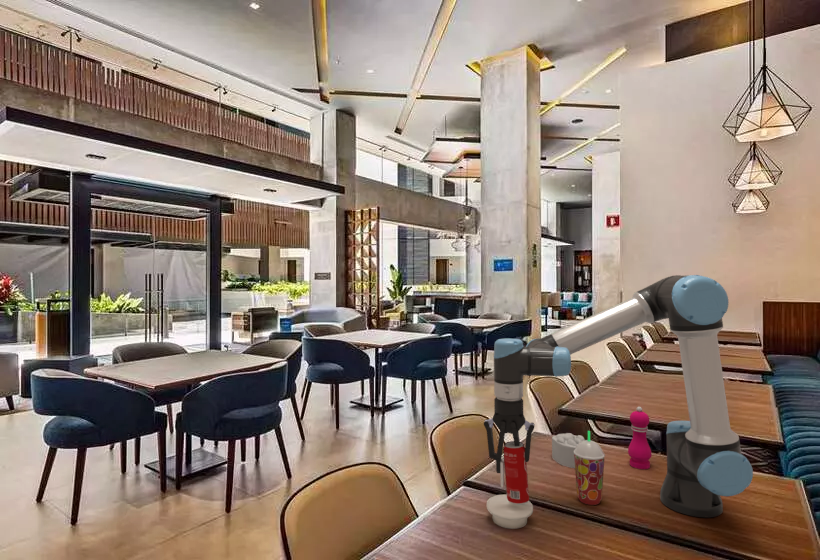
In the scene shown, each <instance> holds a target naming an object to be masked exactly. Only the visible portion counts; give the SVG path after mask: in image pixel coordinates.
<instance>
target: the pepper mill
mask: <svg viewBox="0 0 820 560" xmlns="http://www.w3.org/2000/svg"><path fill="white" fill-rule="evenodd" d="M629 421H630V423H631V430H632V437H631V438H632V439H631V441H630V442H629V445H628V447H627V454H628V456H629V457H630V458H629V465H630V467H632V468H634V469H637V470H638V469H639V470H648V469H650V468H651V461H650V460H651V458H652V449H651V447H650V445H649V443H648V438H647V432H648V431H649V429H648V428H649V427H648V425H649V423H650V417H649V415H648V414H647V413H646V412H644V411H643V408H642V407H641V406H637V407H636V410H635V411H633V412H631V413H630V414H629Z"/></svg>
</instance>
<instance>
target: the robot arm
mask: <svg viewBox="0 0 820 560" xmlns="http://www.w3.org/2000/svg"><path fill="white" fill-rule="evenodd" d="M729 304H730V303H729V296H728V294H727V291H726V289H725V288H724V287H723V285H722V284H720V283H719V282H718V281H716V280H715V279H713V278H711V277H708V276H704V275H699V274H690V275H689V274H687V275H681V274H680V275H679V274H678V275H677V274H676V275H670V276H668V277H664V278H661V279H660V280H658V281H656V282H654V283H652V284H650V285H647V286H646V287H644V288H642V289H640V290H637V291H635V292H634V293H633V295H632V297H631V298H628V299H626V300H624V301H622V302H620V303H618V304H615V305H614V306H611V307H608V308H606V309H604V310H602V311H600V312H598V313H595V314H592V315H590V316H588V317H586V318H583V319H581V320H580V321H577V322H575V323H572V324H570V325H567V326H566V327H564V328H561V329H559V330H557V331H555V332H553V333H551V334H548V335H546V336H543V337H541V338H538V337H537V338H534V339H530V341H528V342H527V344H526V345H525V346H524V343H523V340H522V339H519V338H499V339H496V341H494V346H493V347H494V349H493V375H494V376H493V377H494V381H493V384H494V385H493V387H494V388H493V393H494V394H493V395H494V396H495V398H494V400H493V401H494V403H493V405H494V408H493V409H494V414H493V416H492V418H489V419H485V420H484V421H483V426H484V428H485V430H486V438H487V447H488V449H487V450H488V457H489V459H491V460H492V459H493V460H494V461H495V467H496V469H495V470H496V473H497V474H500V487H501V488H504V486H505V465H504V458H502V457H503V448H504V444H505V443H504V442H505V441H504V440H505V434H511V435H512V438H513V441H514V444H515V446H520V442H521V440H520V433H519V432H520V430H521V429H522V427H524V428H525V431H526V435H525V436H526V437H525V444H524V447H525V462H526V463H528V462H530V456H531V455H530V454H531V446H532V445H531V444H532V443H531V442H532V434H533V432H534V430H535V423H534V422H530V421H528V420H526V418H525V415H524V399H523V398H524V376H527V377H528V376H529V377H530V376H533V377H535V376H537V377H539V376H540V377H555V378H556V377H566V376H569V374H570V373H571V370H572V369H571V368H572V359H571V355H573V354H575V353H577V352H580V351H583V350H584V349H587V348H589V347H591V346H594V345H596V344H598V343H601V342H603V341H605V340H608V339H610V338H612V337H614V336H617V335H619V334H621V333H623V332H624V333H625V332H626V331H629V330H631V329H632V328H635V327H637V326H640V325H642V324H644V323H648V324H651V325H652V324H653V323H656V322H659V321H662V320H666V319H667V320H668V324H669V325H668V326H669V331H670V332H672V333H673V335H676V336H677V340H678V347H679V355H680V362H681V368H682V375H683V383H684V390H685V394H686V395H685V396H686V403H687V404H686V405H687V411H688V417H689V420H672V421H670V422H668V423H667V426H666V433H665V435H666V474H665V477H664V480H663V483H662V485H661V488H660V491H659V492H660V493H659V496H660V497H659V498H660V501H661V503H662V504H663V505H664V506H666V507H667V508H669V509H671V510H673V511H674V512H677V513H680V514H683V515H686V516H690V517H697V518H714V517H718V516H720V515H721V514H722V513H723V511H724V507H723V506H724V505H723V504H724V503H723V499H722V497H733V496H737V495H739V494H741V493H743V492H744V491H745V490H746V488H748V487H749V486H750V485H751V483H752V480H753V478H754V470H753V467H752V466H753V465H752V464H751V463H750V461H749V459H748V458H747V457H746V456H745V455H743V454H742V448H741V441H740V437H739V435H738V433H736V432H735V431H733V430H732V428H731V423H730V417H729V410H728V401H727V397H726V387H725V381H724V374H723V366H722V361H721V360H722V359H721V355H720V353H721V352H720V346H719V340H718V334H719V333H720V332H721V331H722V330H723V329H724V321H723V318H724V316H725V314H726V313H727V311H728V308H729ZM494 424H495V426H496V428H497V429H498V430H499V436H498V443H497V449H496V452H495V443H494V431H493V427H494Z"/></svg>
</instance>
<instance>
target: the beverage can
mask: <svg viewBox="0 0 820 560" xmlns="http://www.w3.org/2000/svg"><path fill="white" fill-rule="evenodd" d="M502 454H503V459H504V479H505V486H506V487H505V488H506V489H505V490H506V494H507V499H508V501H509V502H510V503H512V504H517V505H521V504H525V503H527V502H528V501H530V491H529V479H528V466H527V463H528V462H525V444H524V443H523V442H522V441H520V446H515V444H514V440H512V441H507V442H505V443H503V450H502Z"/></svg>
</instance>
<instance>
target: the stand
mask: <svg viewBox="0 0 820 560" xmlns="http://www.w3.org/2000/svg"><path fill="white" fill-rule="evenodd" d="M486 509H487V511H488V512H489V514H490V515H492V516H491V517H492V521H493V523H494V524H496V525H497V526H499V527H502V528H504V529H512V530H514V529H520V528H523V527H525V526H526V525H527V523H528V518H530V517H531V515H533V512H534V506H533V503H531V501H530V500H529V501H528V502H527V503H525V504H521V505H517V504H512V503H510V502H509V501H508V499H507V493H506V494H497V495H494V496H491V497H489V499H487V501H486Z"/></svg>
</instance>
